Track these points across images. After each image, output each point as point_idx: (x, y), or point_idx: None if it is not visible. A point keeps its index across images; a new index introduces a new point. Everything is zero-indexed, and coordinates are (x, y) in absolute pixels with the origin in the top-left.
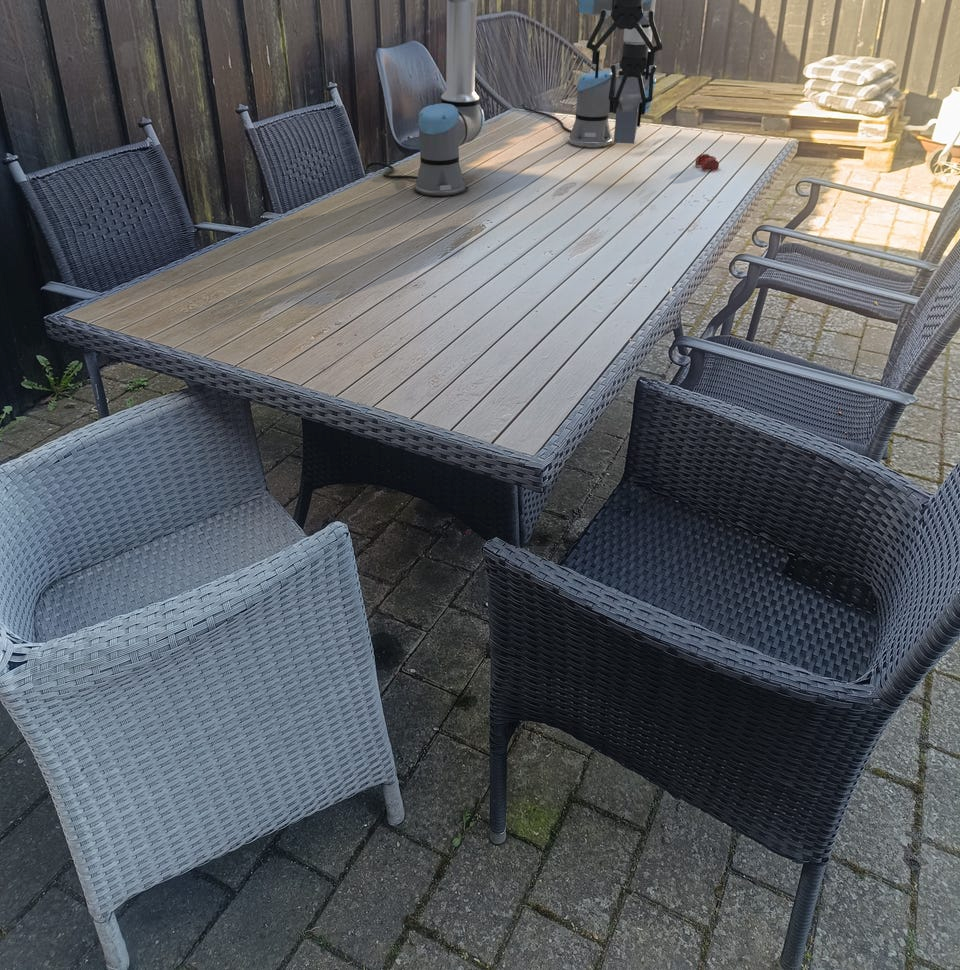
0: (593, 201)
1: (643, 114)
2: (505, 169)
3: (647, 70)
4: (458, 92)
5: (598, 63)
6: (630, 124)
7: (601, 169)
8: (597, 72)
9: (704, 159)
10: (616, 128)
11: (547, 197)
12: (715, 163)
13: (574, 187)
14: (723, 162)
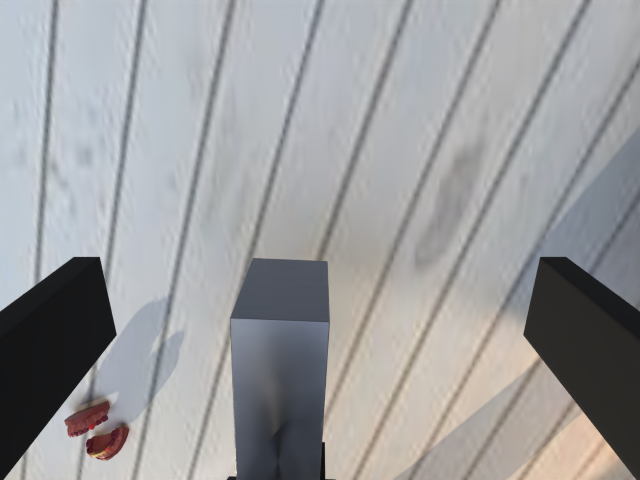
0: (368, 111)
1: (231, 477)
2: None
3: (35, 293)
4: None
5: (630, 329)
6: (263, 290)
7: (348, 381)
8: (574, 279)
9: (104, 446)
10: (321, 284)
11: (500, 129)
12: (71, 417)
13: (419, 231)
14: (71, 461)
